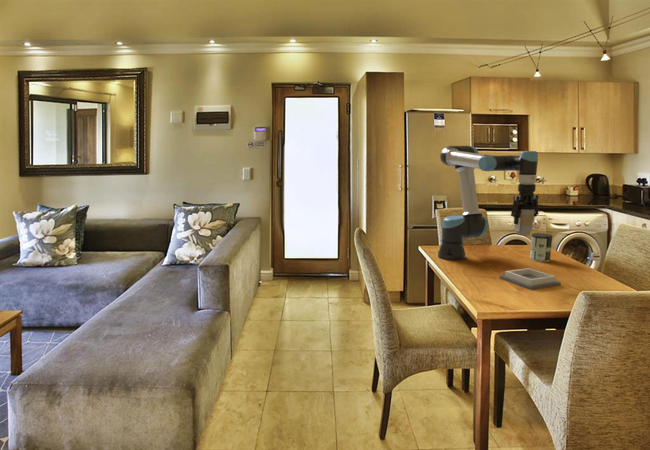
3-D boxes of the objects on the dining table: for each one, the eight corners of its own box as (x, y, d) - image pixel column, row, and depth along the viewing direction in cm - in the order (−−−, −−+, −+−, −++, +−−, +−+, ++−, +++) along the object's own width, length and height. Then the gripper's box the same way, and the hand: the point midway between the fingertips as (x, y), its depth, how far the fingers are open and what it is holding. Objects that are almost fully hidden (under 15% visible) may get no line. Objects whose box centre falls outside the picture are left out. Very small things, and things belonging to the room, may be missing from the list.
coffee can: (544, 257, 233) (546, 233, 231) (553, 261, 223) (556, 236, 221) (526, 257, 233) (528, 233, 231) (534, 261, 223) (537, 236, 221)
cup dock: (499, 278, 194) (500, 270, 194) (528, 274, 200) (528, 266, 200) (530, 289, 178) (531, 281, 177) (560, 284, 184) (561, 277, 183)
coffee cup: (515, 232, 207) (517, 202, 204) (535, 234, 201) (538, 204, 199) (510, 234, 200) (512, 204, 197) (531, 237, 194) (534, 205, 191)
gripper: (516, 184, 189) (513, 232, 193) (549, 183, 197) (545, 229, 200) (504, 183, 196) (501, 230, 200) (536, 182, 204) (532, 227, 207)
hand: (523, 230), depth 200 cm, fingers closed on coffee cup, 8 cm apart
